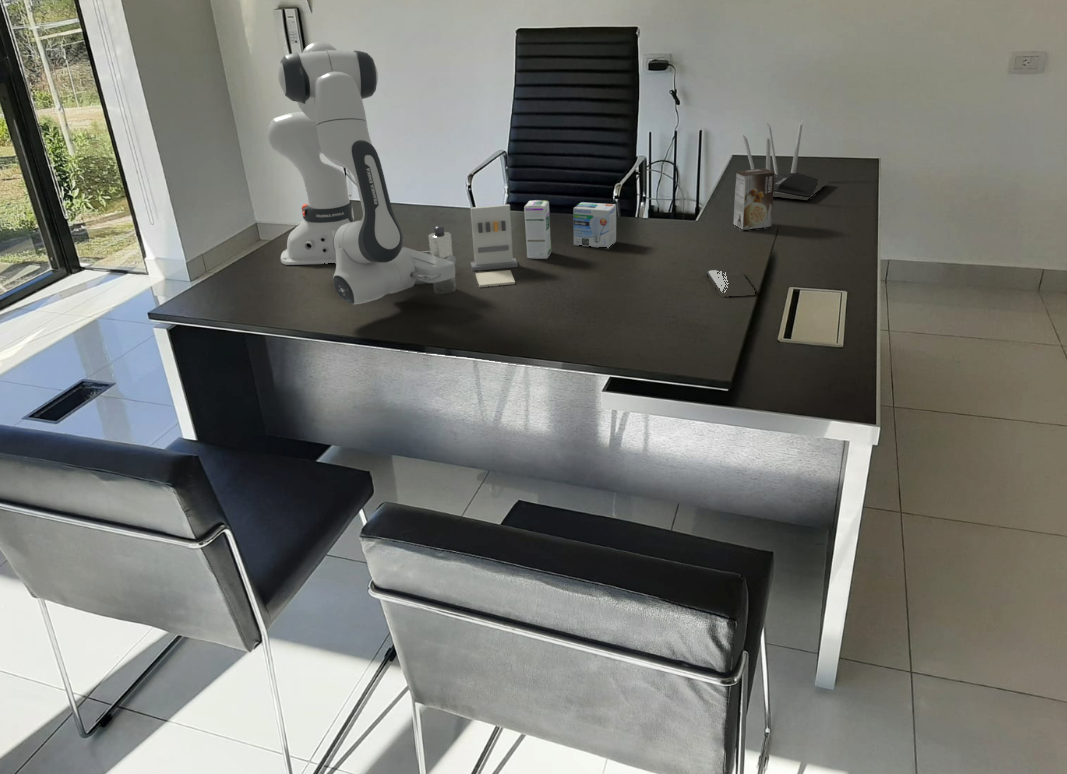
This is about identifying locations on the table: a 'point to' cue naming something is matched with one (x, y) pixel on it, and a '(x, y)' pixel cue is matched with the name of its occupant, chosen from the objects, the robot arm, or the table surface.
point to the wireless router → (790, 182)
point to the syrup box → (537, 229)
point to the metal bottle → (442, 256)
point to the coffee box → (754, 198)
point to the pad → (495, 278)
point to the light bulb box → (595, 224)
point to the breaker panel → (492, 238)
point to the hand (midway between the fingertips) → (444, 256)
